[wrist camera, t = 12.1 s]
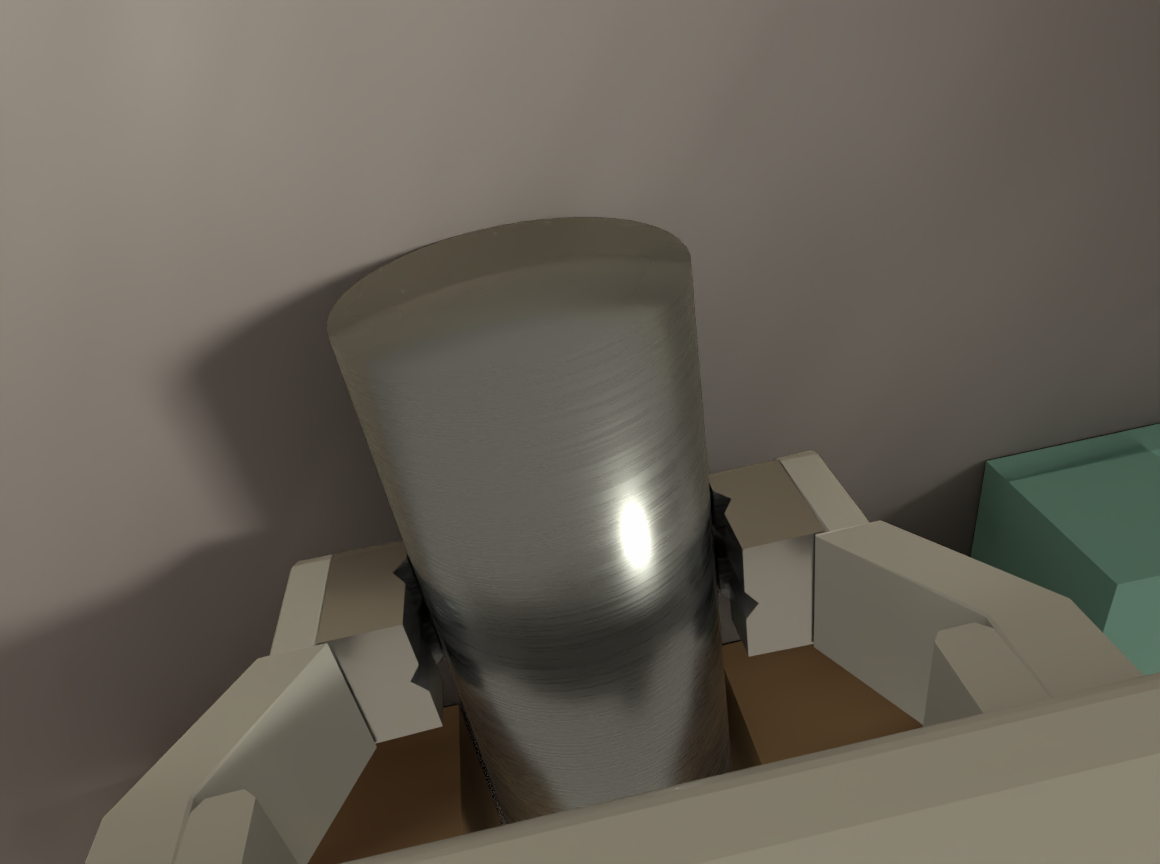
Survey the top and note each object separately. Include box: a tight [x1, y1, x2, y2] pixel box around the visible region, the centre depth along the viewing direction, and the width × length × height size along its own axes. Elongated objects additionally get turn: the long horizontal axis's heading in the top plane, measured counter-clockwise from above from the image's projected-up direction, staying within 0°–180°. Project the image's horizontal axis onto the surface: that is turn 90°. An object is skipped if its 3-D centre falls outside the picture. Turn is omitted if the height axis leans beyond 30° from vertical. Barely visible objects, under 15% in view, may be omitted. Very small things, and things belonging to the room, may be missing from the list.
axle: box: [326, 217, 732, 824], centre depth 11 cm, size 4×12×4 cm, turn 9°
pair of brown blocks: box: [308, 641, 923, 864], centre depth 13 cm, size 16×4×4 cm, turn 99°
